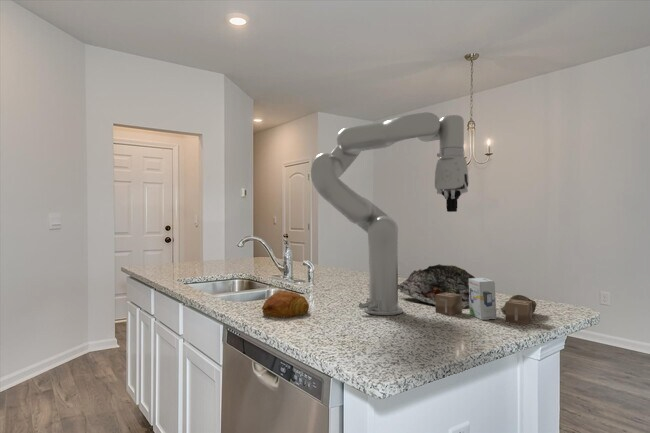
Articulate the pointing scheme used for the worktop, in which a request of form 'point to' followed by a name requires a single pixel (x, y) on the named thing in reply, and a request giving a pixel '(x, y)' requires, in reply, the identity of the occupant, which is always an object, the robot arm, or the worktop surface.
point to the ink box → (482, 298)
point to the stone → (523, 298)
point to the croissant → (285, 305)
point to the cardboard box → (448, 303)
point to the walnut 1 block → (518, 312)
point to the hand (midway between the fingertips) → (451, 211)
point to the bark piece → (437, 283)
